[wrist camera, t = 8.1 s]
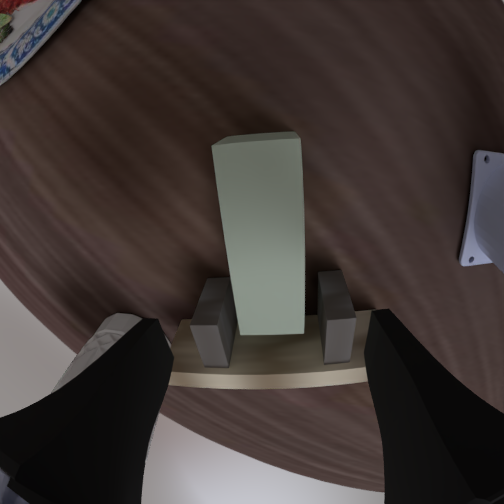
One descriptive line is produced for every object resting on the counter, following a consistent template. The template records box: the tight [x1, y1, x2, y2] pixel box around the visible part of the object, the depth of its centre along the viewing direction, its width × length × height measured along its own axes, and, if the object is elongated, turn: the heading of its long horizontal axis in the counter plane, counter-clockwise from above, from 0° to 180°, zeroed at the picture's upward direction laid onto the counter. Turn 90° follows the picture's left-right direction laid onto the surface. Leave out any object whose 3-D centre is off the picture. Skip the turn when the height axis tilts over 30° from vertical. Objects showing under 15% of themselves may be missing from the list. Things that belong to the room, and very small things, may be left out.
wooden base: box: [169, 270, 376, 389], centre depth 17 cm, size 14×5×5 cm, turn 97°
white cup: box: [51, 313, 171, 463], centre depth 18 cm, size 8×8×10 cm
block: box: [212, 131, 305, 335], centre depth 15 cm, size 4×10×4 cm, turn 5°
